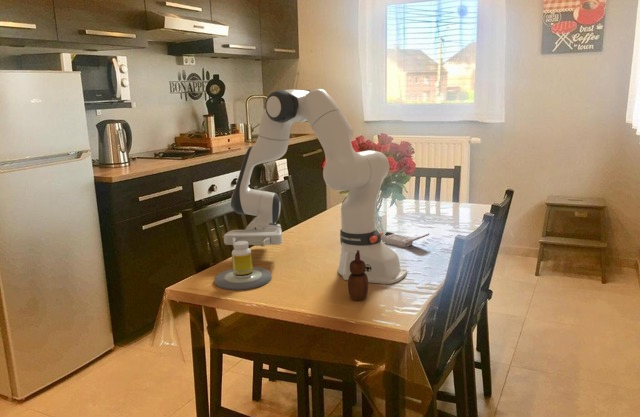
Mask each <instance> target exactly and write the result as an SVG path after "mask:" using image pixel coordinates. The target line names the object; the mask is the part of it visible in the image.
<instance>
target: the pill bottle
mask: <svg viewBox="0 0 640 417" xmlns="http://www.w3.org/2000/svg"><path fill="white" fill-rule="evenodd" d="M232 246H233V250H232V251H231V261H232V269H233V275H234V277H235V278H239V279H243V278H248V277H251V276H252V275H253V269H252V267H253V258H252V256H253V255H252V250H251V248H249V245H248V242H247V241H237V242H234V243H233V245H232Z"/></svg>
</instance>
